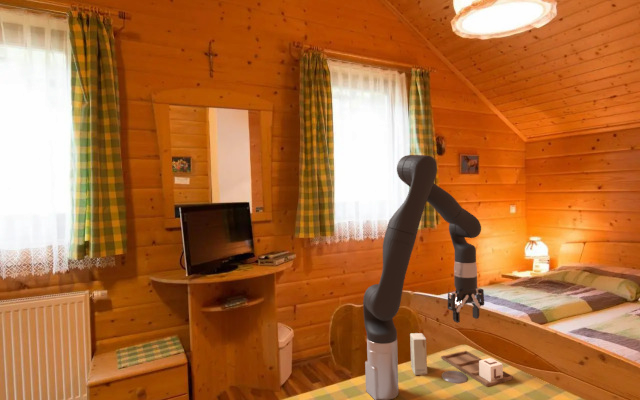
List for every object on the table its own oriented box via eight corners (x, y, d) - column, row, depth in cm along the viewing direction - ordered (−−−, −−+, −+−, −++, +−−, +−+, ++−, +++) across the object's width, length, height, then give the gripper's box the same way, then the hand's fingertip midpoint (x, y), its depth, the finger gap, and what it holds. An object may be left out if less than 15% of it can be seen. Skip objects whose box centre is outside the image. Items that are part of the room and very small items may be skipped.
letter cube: (491, 382, 125) (490, 366, 125) (479, 375, 130) (479, 360, 130) (503, 379, 127) (502, 363, 127) (491, 372, 132) (490, 357, 132)
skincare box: (427, 375, 132) (426, 339, 132) (414, 375, 132) (413, 340, 132) (423, 366, 139) (422, 332, 138) (410, 366, 139) (409, 332, 138)
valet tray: (486, 387, 123) (486, 383, 123) (441, 359, 144) (441, 356, 144) (513, 380, 127) (513, 376, 127) (465, 353, 148) (465, 350, 148)
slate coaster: (452, 386, 125) (452, 384, 125) (436, 375, 132) (436, 373, 132) (472, 381, 128) (472, 379, 127) (455, 370, 135) (455, 368, 135)
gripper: (456, 278, 131) (457, 326, 132) (489, 273, 137) (490, 320, 137) (441, 274, 138) (442, 320, 139) (473, 269, 144) (474, 313, 144)
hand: (466, 319), depth 138 cm, fingers open, 8 cm apart
